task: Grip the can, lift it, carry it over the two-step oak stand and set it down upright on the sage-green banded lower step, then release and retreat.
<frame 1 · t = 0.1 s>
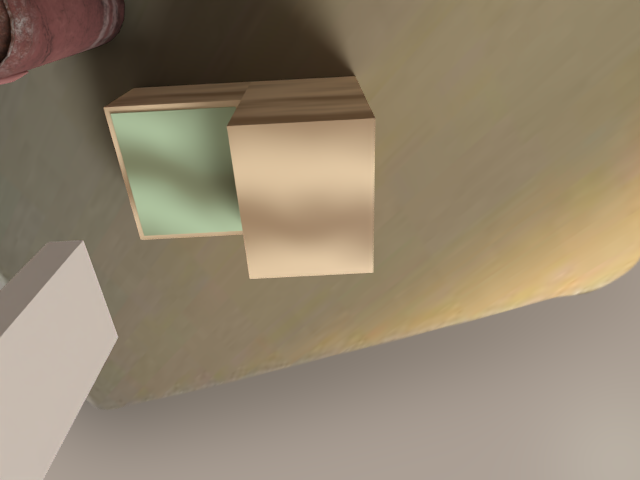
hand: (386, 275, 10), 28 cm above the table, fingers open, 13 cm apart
can: (85, 1, 32), on the table
stand: (258, 144, 37), on the table
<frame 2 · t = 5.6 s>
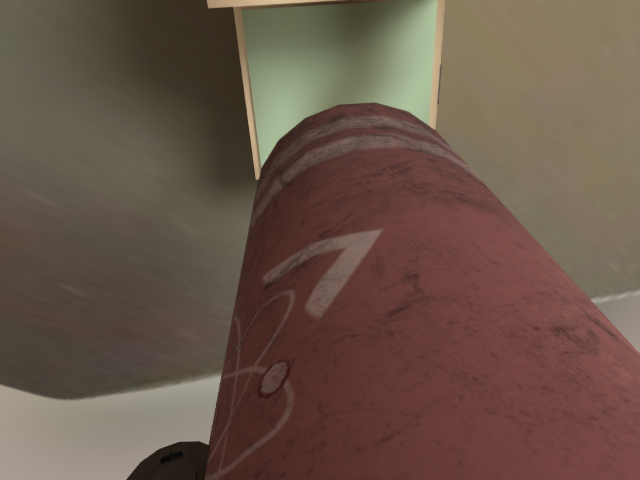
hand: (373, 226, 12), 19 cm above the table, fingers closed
can: (356, 198, 14), point 17 cm above the table, touching hand
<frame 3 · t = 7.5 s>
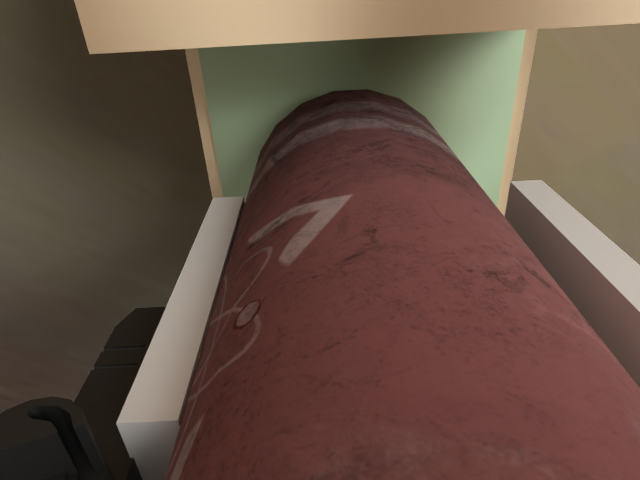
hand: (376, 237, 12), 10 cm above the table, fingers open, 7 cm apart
can: (351, 182, 15), point 6 cm above the table, touching stand
stand: (345, 1, 18), on the table
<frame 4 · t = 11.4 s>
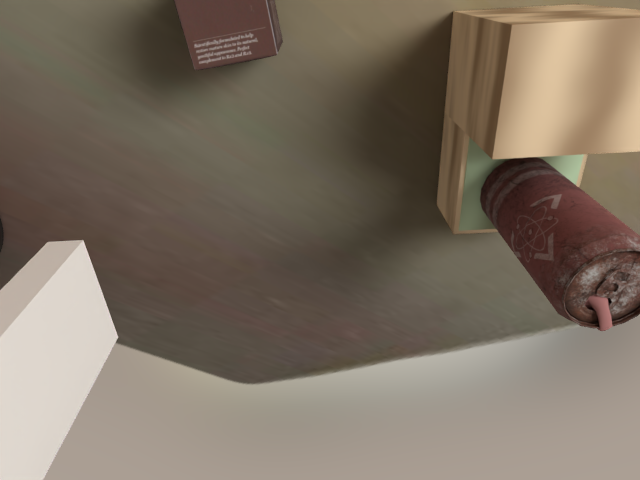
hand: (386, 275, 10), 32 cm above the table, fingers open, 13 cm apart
box: (238, 9, 36), on the table
can: (514, 189, 37), point 6 cm above the table, touching stand
stand: (501, 109, 40), on the table
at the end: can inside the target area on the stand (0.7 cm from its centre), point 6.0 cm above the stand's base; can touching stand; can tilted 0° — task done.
